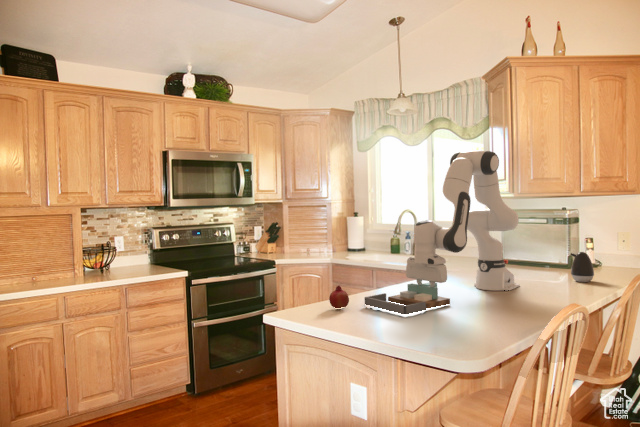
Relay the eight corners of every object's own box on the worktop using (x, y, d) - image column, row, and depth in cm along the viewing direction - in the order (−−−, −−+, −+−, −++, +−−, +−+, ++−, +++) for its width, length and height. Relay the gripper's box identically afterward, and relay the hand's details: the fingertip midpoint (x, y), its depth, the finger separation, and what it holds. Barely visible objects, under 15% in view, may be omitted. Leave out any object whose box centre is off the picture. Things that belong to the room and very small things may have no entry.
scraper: (421, 291, 198) (421, 280, 198) (447, 296, 187) (446, 284, 187) (407, 294, 193) (407, 283, 193) (433, 299, 182) (432, 287, 181)
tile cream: (422, 297, 186) (422, 293, 186) (432, 299, 182) (431, 294, 182) (414, 299, 183) (414, 294, 183) (423, 301, 179) (423, 296, 179)
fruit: (351, 311, 179) (350, 286, 179) (331, 312, 178) (330, 288, 178) (346, 306, 187) (346, 283, 187) (328, 308, 186) (327, 284, 186)
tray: (385, 303, 191) (384, 293, 191) (426, 312, 173) (425, 301, 173) (364, 307, 185) (364, 297, 185) (405, 318, 166) (404, 306, 166)
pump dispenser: (571, 279, 234) (571, 250, 234) (595, 280, 228) (594, 251, 227) (569, 282, 226) (568, 252, 225) (593, 283, 219) (592, 253, 219)
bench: (414, 298, 200) (413, 291, 200) (450, 305, 183) (449, 298, 183) (388, 303, 190) (388, 296, 190) (423, 312, 174) (423, 304, 174)
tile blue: (408, 295, 193) (408, 290, 193) (417, 296, 189) (416, 292, 189) (400, 296, 190) (400, 292, 190) (408, 298, 186) (408, 293, 186)
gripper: (402, 257, 196) (403, 288, 196) (438, 261, 179) (439, 295, 179) (412, 256, 199) (413, 286, 200) (448, 259, 183) (449, 292, 183)
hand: (426, 290), depth 189 cm, fingers closed on scraper, 3 cm apart
